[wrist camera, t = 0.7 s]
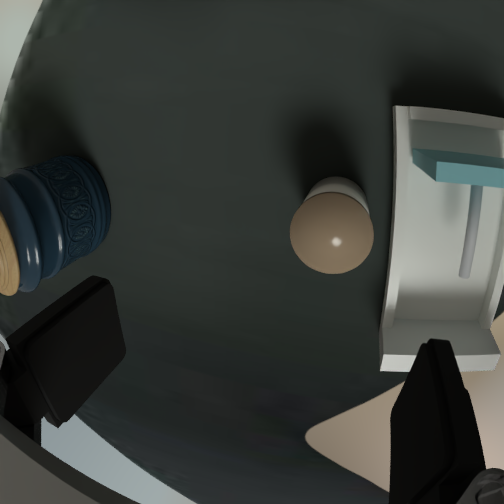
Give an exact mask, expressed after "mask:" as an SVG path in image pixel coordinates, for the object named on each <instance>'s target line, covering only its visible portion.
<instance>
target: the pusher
mask: <svg viewBox="0 0 504 504" xmlns="http://www.w3.org/2000/svg"><path fill="white" fill-rule="evenodd" d="M412 163H413V164H415V165H416V166H417V167H419V168H420V169H421V170H422V171H424V172H425V173H426V174H427V175H428V176H430V177H431V178H432V179H433V180H435V181H436V182H447V183H458V184H469V185H471V189H470V200H469V210H468V218H467V226H466V233H465V240H464V247H463V253H462V258H461V264H460V269H459V274H458V275H459V277H461V278H464V279H468V278H469V277H470V272H471V267H472V262H473V257H474V252H475V246H476V240H477V234H478V227H479V220H480V212H481V203H482V193H483V186H488V187H496V188H504V158H498V157H491V156H484V155H476V154H468V153H459V152H450V151H440V150H428V149H415V148H413V161H412Z"/></svg>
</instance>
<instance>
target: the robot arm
mask: <svg viewBox="0 0 504 504" xmlns="http://www.w3.org/2000/svg"><path fill="white" fill-rule="evenodd" d="M6 341H7V344H8V346H9V348H10V349H9V350H7V351H6V349H5V346H4V344H3V343H2V342H1V341H0V504H140V503H138V502H135V501H133V500H131V499H129V498H127V497H125V496H123V495H121V494H119V493H117V492H115V491H113V490H111V489H109V488H107V487H106V486H104V485H102V484H100V483H98V482H96V481H95V480H93V479H91V478H89V477H88V476H86V475H84V474H83V473H81V472H79V471H78V470H76V469H74V468H73V467H71V466H70V465H68V464H66V463H65V462H63V461H62V460H60V459H59V458H57V457H56V456H54V455H53V454H51V453H50V452H48V451H47V450H45V449H44V448H43V447H41V419H42V418H43V417H45V418H46V420H47V421H48V422H49V423H51V424H52V425H54V426H55V427H57V428H59V427H60V426H61V424H62V423H63V422H67V421H68V420H69V419H70V418H71V417H72V416H73V415H74V414H75V412H76V411H77V410H78V409H79V408H80V407H81V406H82V404H83V403H84V402H85V401H86V400H87V399H88V398H89V397H90V395H91V394H92V393H93V392H94V391H95V390H96V389H97V388H98V386H99V385H100V384H101V383H102V382H103V381H104V380H105V379H106V377H107V376H108V375H109V374H110V373H111V372H112V371H113V370H114V368H115V367H116V366H117V365H118V364H119V363H120V362H121V361H122V360H123V358H124V356H125V354H126V347H125V343H124V338H123V334H122V329H121V325H120V320H119V315H118V310H117V305H116V300H115V294H114V289H113V286H112V285H111V284H110V282H109V280H108V279H105V278H102V277H98V276H90V277H89V278H87V279H86V280H84V281H83V282H81V283H80V284H79V285H77V286H76V287H74V288H73V289H72V290H70V291H69V292H67V293H66V294H65V295H63V296H62V297H60V298H59V299H58V300H56V301H55V302H54V303H52V304H51V305H49V306H48V307H47V308H45V309H44V310H43V311H41V312H40V313H39V314H37V315H36V316H35V317H33V318H32V319H31V320H29V321H28V322H27V323H25V324H24V325H23V326H21V327H20V328H19V329H18V330H16V331H15V332H14V333H12V334H11V335H10V336H9V337H7V338H6ZM390 423H391V425H390V426H391V463H390V464H391V465H390V491H389V504H504V470H502V469H498V468H490V469H486V466H485V460H484V455H483V449H482V445H481V440H480V435H479V431H478V427H477V423H476V418H475V414H474V410H473V406H472V403H471V399H470V395H469V393H468V390H466V389H465V387H464V384H463V380H462V377H461V374H460V370H459V367H458V364H457V361H456V358H455V355H454V351H453V348H452V345H451V343H450V341H449V340H443V339H433V338H431V339H429V340H428V342H427V343H422V344H421V346H420V348H419V350H418V353H417V355H416V358H415V360H414V363H413V365H412V367H411V369H410V372H409V374H408V376H407V379H406V381H405V383H404V385H403V387H402V389H401V392H400V394H399V396H398V398H397V400H396V402H395V404H394V406H393V408H392V411H391V417H390Z"/></svg>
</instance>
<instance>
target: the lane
mask: <svg viewBox="0 0 504 504" xmlns="http://www.w3.org/2000/svg"><path fill="white" fill-rule="evenodd" d="M393 138H394V172H393V204H392V222H391V236H390V248H389V259H388V269H387V278H386V286H385V294H384V302H383V309H382V315H381V322H380V328H379V346H380V371H401V372H410V369H411V367H412V365H413V363H414V360H415V358H416V355H417V353H418V350H419V348H420V346H421V344H422V343H427V342H428V340H429V339H431V338H433V339H443V340H449V341H450V343H451V345H452V348H453V351H454V355H455V358H456V361H457V364H458V367H459V370H460V371H485V370H494V369H495V367H496V364H497V362H498V360H499V357H500V355H501V353H500V351H499V348H498V346H497V344H496V342H495V340H494V337H493V335H492V333H491V331H490V327H491V324H492V322H493V318H494V315H495V312H496V309H497V306H498V302H499V299H500V296H501V292H502V288H503V285H504V188H496V187H488V186H483V193H482V203H481V212H480V220H479V227H478V234H477V240H476V246H475V252H474V257H473V262H472V267H471V272H470V277H469V278H468V279H464V278H461V277H459V275H458V274H459V269H460V264H461V258H462V253H463V247H464V240H465V233H466V226H467V218H468V210H469V200H470V189H471V185H469V184H458V183H447V182H436V181H435V180H433V179H432V178H431V177H430V176H428V175H427V174H426V173H425V172H424V171H422V170H421V169H420V168H419V167H417V166H416V165H415V164H413V163H412V161H413V148H415V149H428V150H440V151H450V152H459V153H468V154H476V155H484V156H491V157H498V158H504V118H499V117H493V116H488V115H482V114H475V113H469V112H461V111H454V110H446V109H437V108H427V107H415V106H393Z"/></svg>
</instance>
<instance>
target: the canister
mask: <svg viewBox="0 0 504 504" xmlns="http://www.w3.org/2000/svg"><path fill="white" fill-rule="evenodd" d="M110 219H111V210H110V202H109V197H108V193H107V190H106V187H105V185H104V183H103V181H102V179H101V177H100V175H99V174H98V172H97V171H96V170H95V168H94V167H93V166H92V165H91V164H90V163H89V162H87V161H86V160H84V159H83V158H80V157H78V156H67V155H63V156H58V157H54V158H51V159H49V160H48V161H45V162H42V163H38V164H35V165H32V166H29V167H25V168H18V169H15V170H13V171H11V172H10V173H9V174H8V175H7V176H6V177H5V178H3V177H0V293H2V294H4V295H8V296H10V295H13V294H15V293H16V291H17V290H19V291H22V292H31V291H33V290H35V289H36V288H37V286H38V285H39V283H40V280H41V279H48V278H52V277H54V276H55V275H56V274H57V273H58V272H59V271H60V270H62V269H63V268H65V267H66V266H68V265H69V264H71V263H72V262H74V261H76V260H77V259H79V258H80V257H84V256H86V255H88V254H89V253H91V252H93V251H94V250H95V249H96V248H97V247H98V246H99V245H100V244H101V243H102V242H103V240H104V239H105V237H106V235H107V233H108V230H109V226H110Z"/></svg>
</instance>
